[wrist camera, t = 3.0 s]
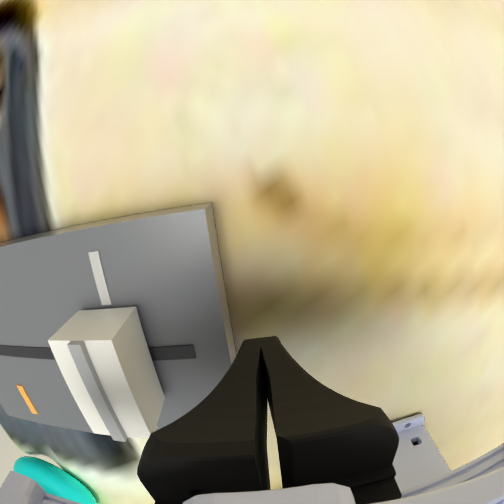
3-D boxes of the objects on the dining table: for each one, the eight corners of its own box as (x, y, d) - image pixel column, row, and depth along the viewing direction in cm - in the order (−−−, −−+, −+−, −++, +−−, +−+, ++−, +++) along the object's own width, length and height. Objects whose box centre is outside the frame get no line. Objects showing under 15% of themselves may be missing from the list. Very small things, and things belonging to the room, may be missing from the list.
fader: (135, 306, 12) (108, 344, 9) (165, 398, 13) (151, 443, 10) (78, 310, 12) (43, 344, 9) (111, 396, 13) (91, 437, 10)
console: (212, 202, 14) (204, 208, 11) (246, 406, 17) (246, 437, 14) (-35, 251, 14) (-59, 261, 12) (22, 396, 17) (7, 415, 15)
